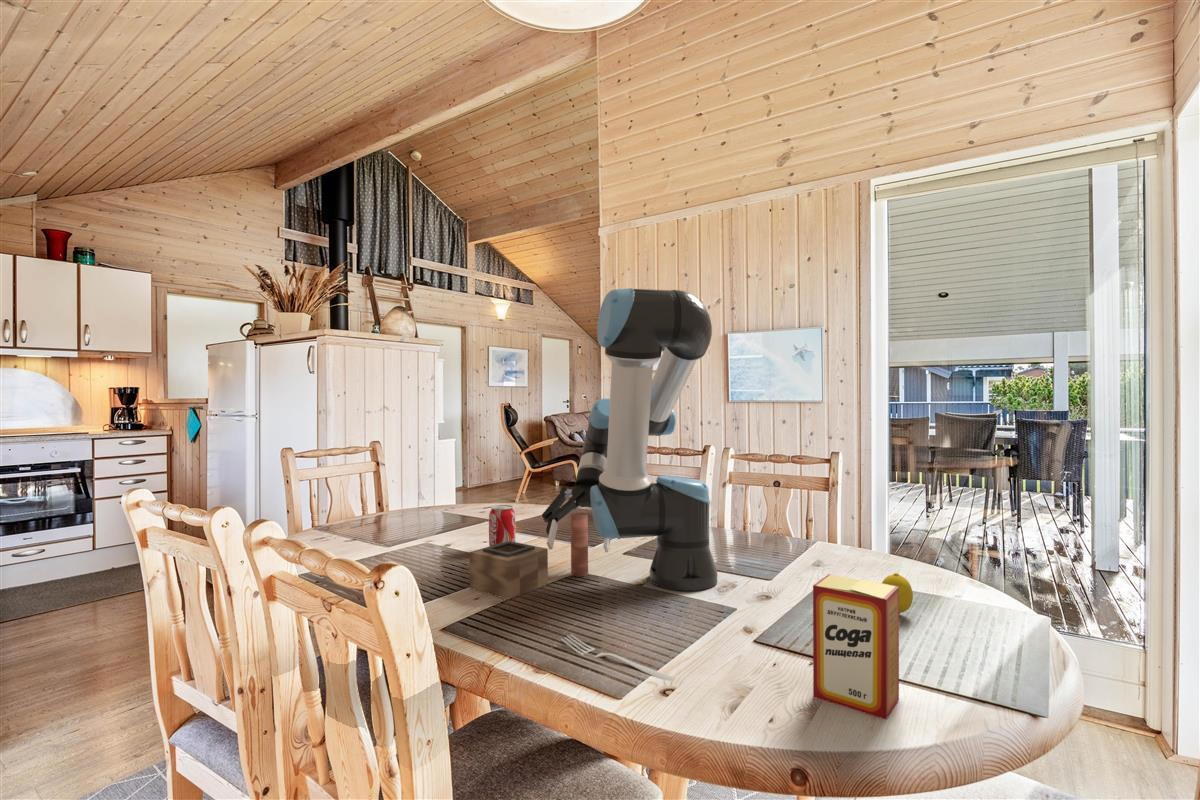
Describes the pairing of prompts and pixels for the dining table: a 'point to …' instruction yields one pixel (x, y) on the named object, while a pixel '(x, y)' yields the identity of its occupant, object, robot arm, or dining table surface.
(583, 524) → the peg
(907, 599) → the lemon
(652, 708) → the dining table surface
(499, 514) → the soda can
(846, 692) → the baking soda box
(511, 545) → the socket block
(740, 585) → the dining table surface
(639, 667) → the fork
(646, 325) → the robot arm
